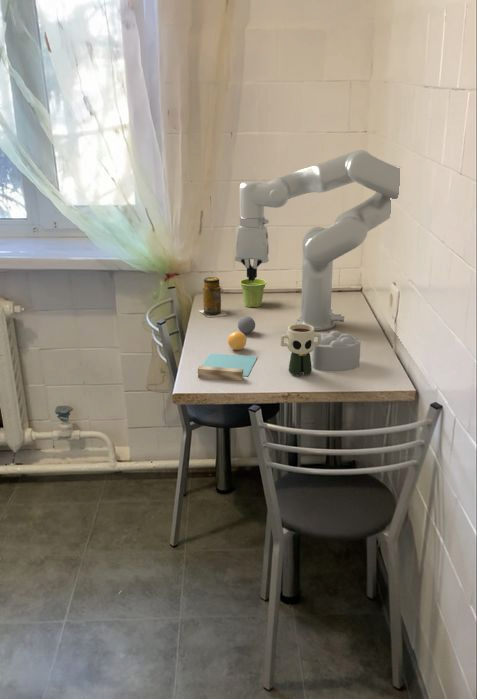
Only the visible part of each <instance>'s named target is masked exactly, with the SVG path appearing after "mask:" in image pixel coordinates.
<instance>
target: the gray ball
mask: <svg viewBox="0 0 477 699" xmlns="http://www.w3.org/2000/svg"><path fill="white" fill-rule="evenodd" d="M237 328H238V330H239V332H242V333H243V334H244V335H248V334H251V333H253V332H254V330H255V329H256V321H255V320H254V318H252V317H251V316H242V317H241V318H240V319H239V320H238V323H237Z"/></svg>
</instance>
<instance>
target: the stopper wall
mask: <svg viewBox="0 0 477 699" xmlns="http://www.w3.org/2000/svg"><path fill="white" fill-rule="evenodd" d="M197 372H198V373H197V377H198V378H202V379H215V380H225V381H226V380H227V381H240V382H241V381H243V379H244V376H243V369H234V368H221V367H207V366H202V365H199V367H197Z"/></svg>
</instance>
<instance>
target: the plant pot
mask: <svg viewBox="0 0 477 699" xmlns="http://www.w3.org/2000/svg"><path fill="white" fill-rule="evenodd" d="M239 284H240V286H241V288H242V289H241V290H242V295H243V296H242V297H243V305H244V306H245V307H247V308H260V307H261V306H262V304H263V299H264V297H263V296H264V292H265V287H266V284H268V283H267V281H266V280H265V279H262V278H257V277H256V278H255V280H254V281H252V280H250V281H249V280H248V278H243V279H241V280H240V281H239Z"/></svg>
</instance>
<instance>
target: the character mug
mask: <svg viewBox="0 0 477 699" xmlns="http://www.w3.org/2000/svg"><path fill="white" fill-rule="evenodd" d="M321 334H322V333H317V332H316V333H315V331H314V327H313V326H311V325H308V324H296V323H294V324H293V323H292V324H291V325H288V327H287V334H280V346H281V347H287V349H288V351H289V352H290V353H291V354H290V359H289V365H288V371H289V373H290V374H292V375H293V376H301V374H302V373H303V376H308V375H310V374H311V373H312V372H313V371H312V370H313V365H312V356H311V354H310V353H311V352H312V351H313V349H314V345H320V344H321ZM314 337H318V341H317V342H314ZM285 339H287V342H285Z"/></svg>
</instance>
